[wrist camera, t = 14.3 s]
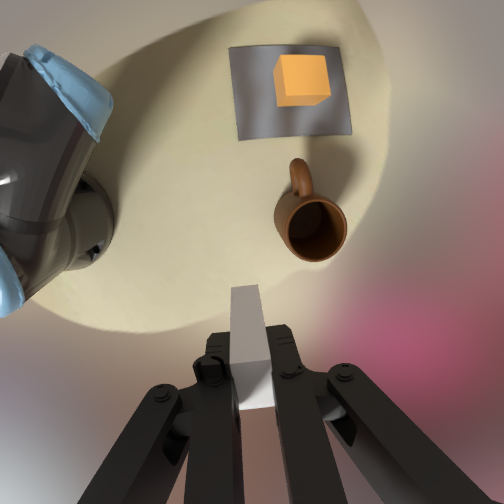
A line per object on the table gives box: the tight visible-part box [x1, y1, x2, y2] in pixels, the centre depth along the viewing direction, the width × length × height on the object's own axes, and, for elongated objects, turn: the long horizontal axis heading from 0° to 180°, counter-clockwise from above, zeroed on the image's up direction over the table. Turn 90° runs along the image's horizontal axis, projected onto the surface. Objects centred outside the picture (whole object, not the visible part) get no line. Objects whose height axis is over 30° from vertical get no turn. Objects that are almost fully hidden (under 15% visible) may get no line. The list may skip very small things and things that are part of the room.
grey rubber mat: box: [228, 45, 352, 141], centre depth 30 cm, size 16×14×7 cm
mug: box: [274, 158, 347, 262], centre depth 34 cm, size 12×8×9 cm, turn 15°
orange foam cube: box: [273, 55, 331, 107], centre depth 29 cm, size 5×5×7 cm
